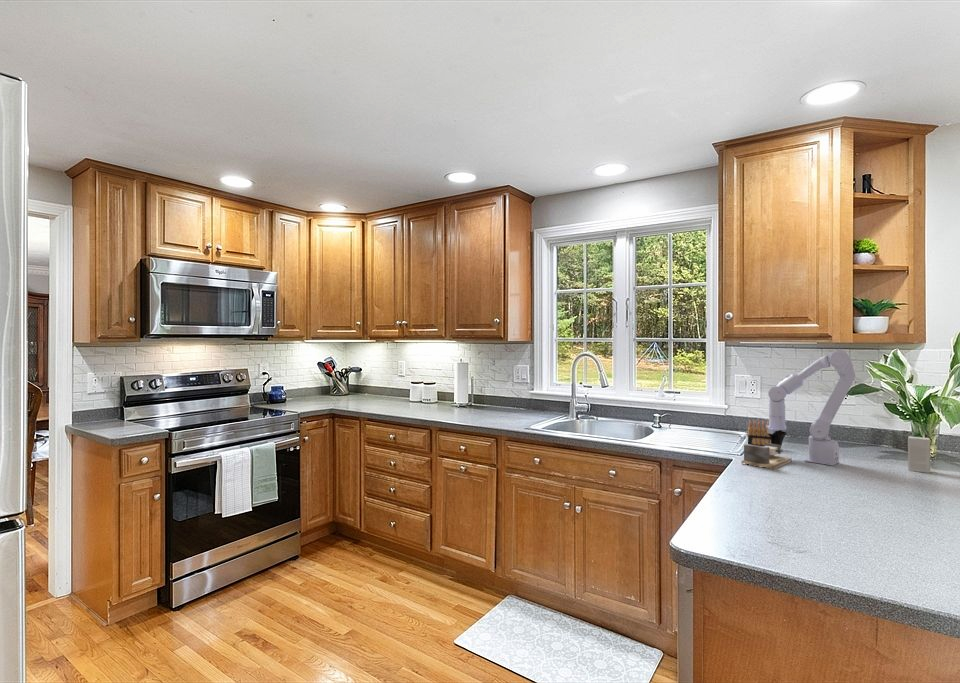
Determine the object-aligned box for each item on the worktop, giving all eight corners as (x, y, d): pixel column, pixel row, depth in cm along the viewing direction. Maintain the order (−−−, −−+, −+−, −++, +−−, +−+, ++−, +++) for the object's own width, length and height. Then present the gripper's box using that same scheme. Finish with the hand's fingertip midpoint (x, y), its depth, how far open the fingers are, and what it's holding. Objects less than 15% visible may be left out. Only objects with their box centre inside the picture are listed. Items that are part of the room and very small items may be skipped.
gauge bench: (791, 461, 202) (791, 442, 202) (772, 469, 190) (772, 449, 190) (761, 456, 210) (761, 438, 210) (741, 463, 198) (741, 445, 198)
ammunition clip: (747, 446, 231) (747, 419, 231) (748, 445, 232) (748, 418, 232) (775, 449, 225) (775, 421, 225) (775, 448, 226) (775, 420, 226)
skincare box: (930, 471, 186) (930, 437, 186) (929, 473, 183) (929, 439, 183) (908, 468, 190) (908, 435, 190) (907, 470, 187) (907, 437, 187)
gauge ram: (785, 454, 203) (785, 445, 203) (777, 457, 198) (777, 448, 198) (764, 451, 209) (764, 442, 209) (757, 454, 204) (756, 445, 204)
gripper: (773, 413, 217) (773, 445, 217) (759, 416, 207) (759, 450, 208) (792, 415, 211) (792, 448, 212) (778, 418, 202) (778, 453, 202)
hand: (777, 449), depth 209 cm, fingers closed
